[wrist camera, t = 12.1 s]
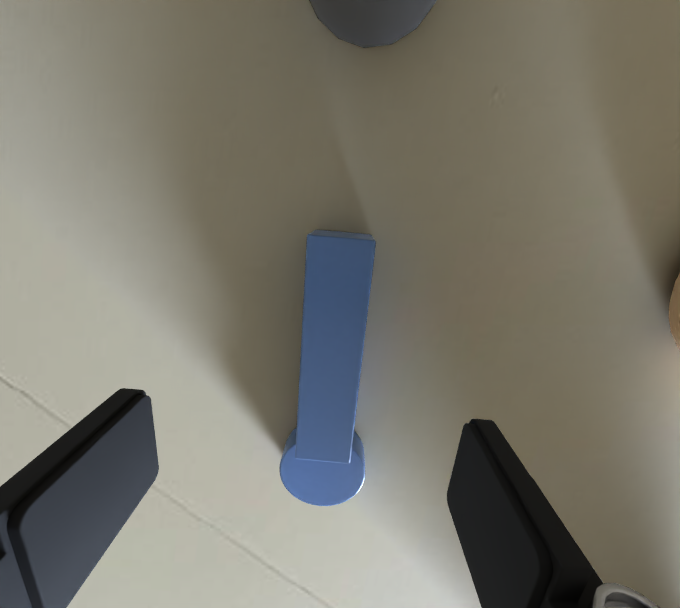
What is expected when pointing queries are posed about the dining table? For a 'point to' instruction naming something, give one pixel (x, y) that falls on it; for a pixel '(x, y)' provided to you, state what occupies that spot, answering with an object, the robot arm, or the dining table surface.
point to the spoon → (330, 370)
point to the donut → (675, 312)
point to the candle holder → (371, 19)
